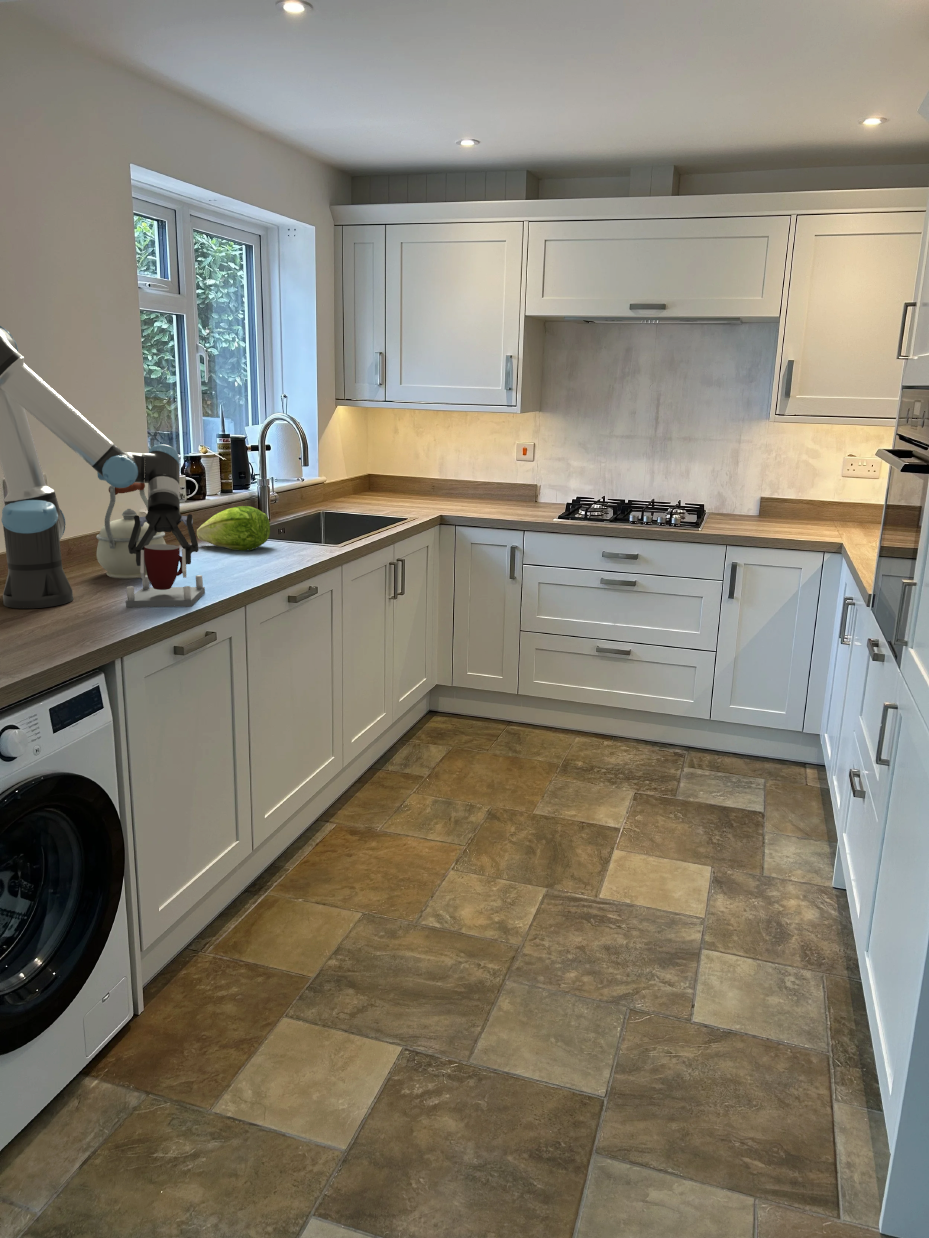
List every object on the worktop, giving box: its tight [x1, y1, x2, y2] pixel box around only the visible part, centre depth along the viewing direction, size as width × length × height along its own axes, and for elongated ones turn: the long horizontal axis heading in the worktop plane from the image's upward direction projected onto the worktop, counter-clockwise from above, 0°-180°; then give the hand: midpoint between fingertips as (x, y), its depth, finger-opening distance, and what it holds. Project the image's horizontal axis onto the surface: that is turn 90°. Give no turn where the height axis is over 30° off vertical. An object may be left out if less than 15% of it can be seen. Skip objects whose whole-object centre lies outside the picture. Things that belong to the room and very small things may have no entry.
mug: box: [144, 543, 183, 590], centre depth 222 cm, size 10×8×10 cm
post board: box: [125, 575, 206, 608], centre depth 223 cm, size 15×15×4 cm
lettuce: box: [196, 505, 271, 552], centre depth 295 cm, size 14×24×15 cm
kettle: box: [96, 483, 167, 580], centre depth 253 cm, size 25×18×25 cm
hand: (163, 575), depth 219 cm, fingers closed on mug, 9 cm apart
